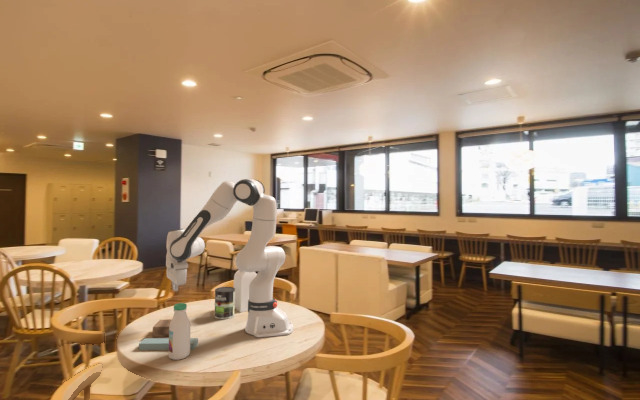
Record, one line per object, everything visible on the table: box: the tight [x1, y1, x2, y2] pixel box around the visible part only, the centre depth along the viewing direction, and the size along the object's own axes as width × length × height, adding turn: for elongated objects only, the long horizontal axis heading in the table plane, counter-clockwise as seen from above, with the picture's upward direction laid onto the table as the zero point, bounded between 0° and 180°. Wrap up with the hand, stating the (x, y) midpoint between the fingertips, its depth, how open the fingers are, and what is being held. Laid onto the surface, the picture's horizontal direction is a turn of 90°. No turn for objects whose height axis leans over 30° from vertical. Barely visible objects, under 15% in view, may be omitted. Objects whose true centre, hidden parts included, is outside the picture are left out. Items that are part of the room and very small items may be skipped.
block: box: [152, 318, 172, 338], centre depth 146 cm, size 9×9×5 cm
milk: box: [233, 269, 258, 313], centre depth 183 cm, size 12×12×26 cm
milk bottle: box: [168, 302, 191, 361], centre depth 126 cm, size 8×8×20 cm
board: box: [138, 337, 199, 351], centre depth 133 cm, size 22×5×3 cm, turn 92°
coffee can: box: [214, 286, 235, 320], centre depth 170 cm, size 10×10×14 cm
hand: (175, 290), depth 157 cm, fingers closed
